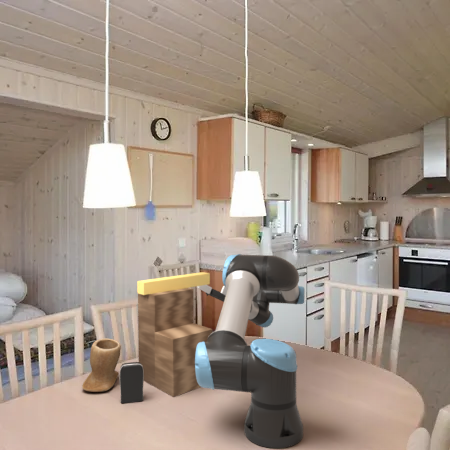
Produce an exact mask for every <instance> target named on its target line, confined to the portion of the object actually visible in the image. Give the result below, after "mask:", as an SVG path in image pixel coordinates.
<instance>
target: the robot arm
mask: <svg viewBox="0 0 450 450" xmlns="http://www.w3.org/2000/svg"><path fill="white" fill-rule="evenodd" d="M221 277H222V283H223V286H222V288H221V291H219V290H216V289H214V288H213V287H212V286H210V285H209V284H208V285H202V286H196V288H197V289H199V290H201V291H203V292H204V293H205V294H206V297H208V296H210V297H212V298H214V299H216V300H219V301H221V302H223V304H222V307H221V311H220V314H219V318H218V321H217V323H216V324H217V325H216V328H215V330H214V331H212V333H211V334H210V335H209V336H208V338H207V341H206V342H199V343H198V344H197V347H196V354H195V373H196V379H197V382H198V384H199V385H200V386H201V387H200V388H204V389H210V390H212V391H213V390H214V391H215V390H219V391H229V392H231V391H233V392H243V393H251V395H250V398H251V399H250V404H249V408H248V411H247V414H246V416H245V420H244V425H243V426H244V429H243V431H244V436H245V437H246V438H247V439H248V440H249V441H250V442H252V443H254V444H256V445H258V446H261V447H265V448H270V449H271V448H272V449H282V448H283V449H284V448H288V447H292V446H295V445H296V444H298V443H300V442H301V441H302V439H303V438H304V424H303V421H302V417H301V414H300V412H299V408H298V406H297V371H298V364H297V354H296V351H295V349H294V348H293V347H292V346H291V345H290V344H287V343H286V342H283V341H280V340H277V339H272V338H256V339H254V340H252V342H251V344H250V345H248V343H247V341H246V339H245V337H246V336H245V335H246V333H247V332H246V331H247V328H248V323H249V322H251V323H254V324H255V325H256V326H259V327H261V328H268V327H269V326H271V325H272V323H273V321H274V315H273V312H271V310H270V304H285V305H286V304H287V305H288V304H289V305H304V303H305V294H306V293H305V292H306V291H305V287H304V286H302V285H299V281H300V275H299V271H298V269H297V268H296V267H295V265H294V264H292V263H291V262H290V261H288V260H286V259H284V258H282V257H280V256H277V255H270V254H268V255H267V254H266V255H265V254H264V255H263V254H258V255H257V254H241V253H238V254H231V255H228V256H227V257H226V260H225V261H224V264H223V269H222V276H221Z"/></svg>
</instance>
